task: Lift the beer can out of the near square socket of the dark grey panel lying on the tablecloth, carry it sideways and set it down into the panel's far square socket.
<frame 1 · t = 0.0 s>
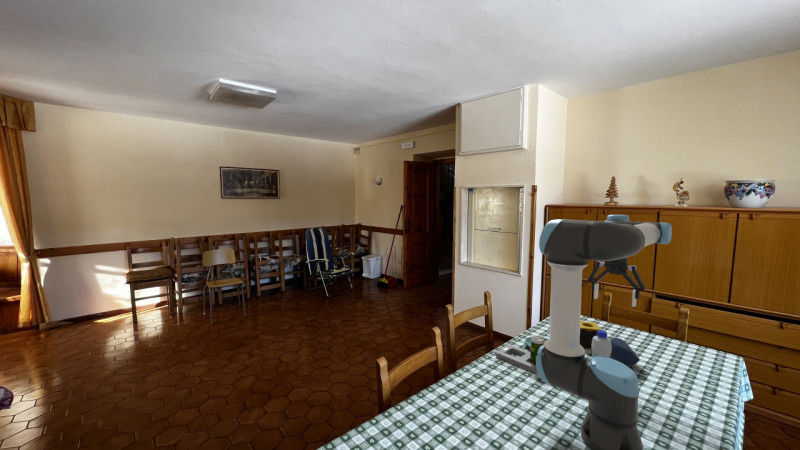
hand: (614, 302, 132), 28 cm above the table, fingers open, 13 cm apart
socket panel: (525, 361, 139), on the table
decorative stone: (621, 364, 136), on the table
beer can: (536, 366, 135), resting in socket panel
saucer: (541, 348, 152), on the table
bottle: (600, 380, 124), on the table
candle: (586, 344, 155), on the table
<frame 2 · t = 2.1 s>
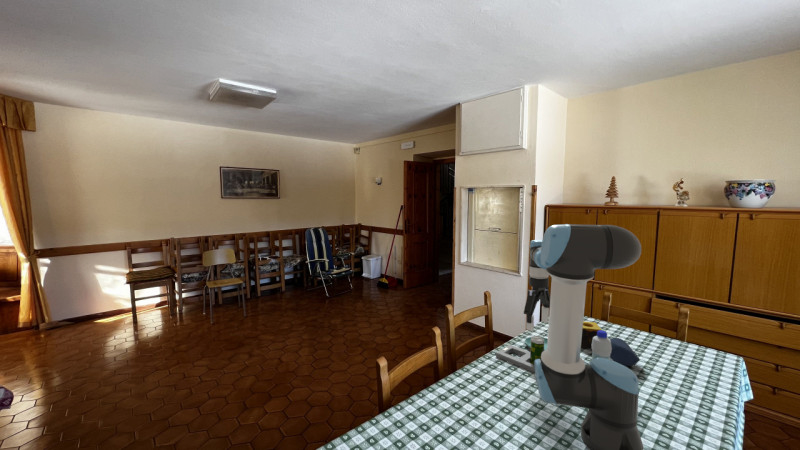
hand: (537, 326, 134), 17 cm above the table, fingers open, 13 cm apart
nothing on the table moved.
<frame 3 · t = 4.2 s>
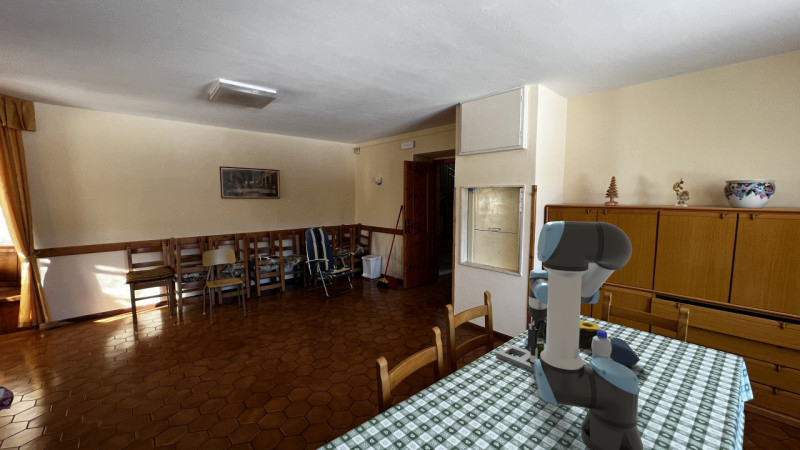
hand: (537, 359, 135), 3 cm above the table, fingers closed on beer can, 5 cm apart
beer can: (536, 366, 135), resting in socket panel, touching gripper
everything else where it was.
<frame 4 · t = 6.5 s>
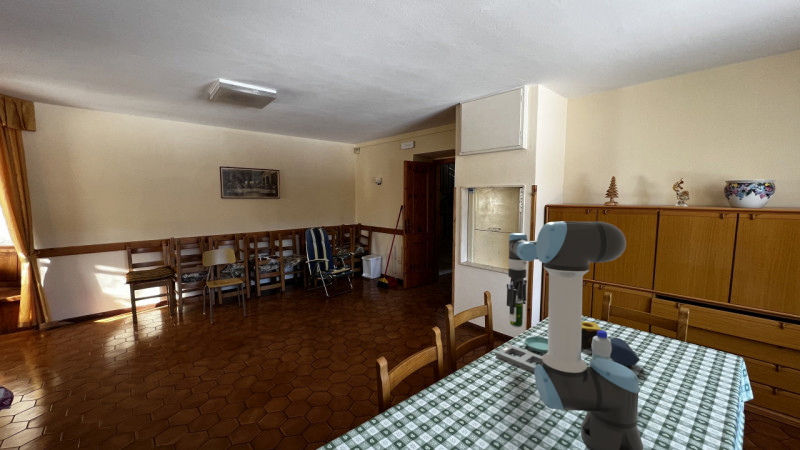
hand: (516, 319, 141), 18 cm above the table, fingers closed on beer can, 5 cm apart
beer can: (516, 325, 142), point 15 cm above the table, touching gripper
everything else where it was.
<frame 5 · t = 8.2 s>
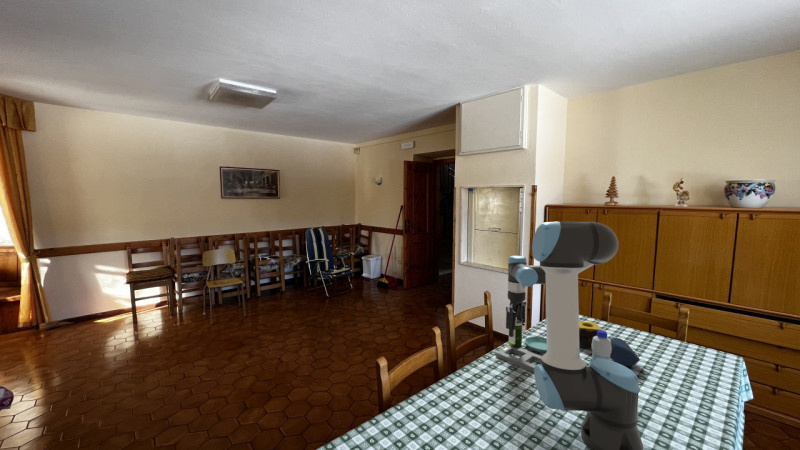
hand: (515, 341, 142), 8 cm above the table, fingers closed on beer can, 5 cm apart
beer can: (515, 347, 142), point 5 cm above the table, touching gripper
everything else where it was.
when the fingers open (4 cm above the table, at t = 9.2 s): beer can drops 1 cm, resting in socket panel.
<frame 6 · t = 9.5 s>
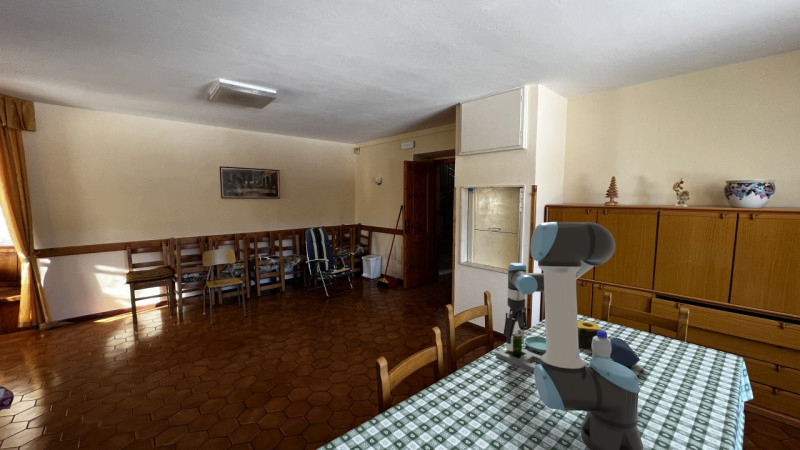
hand: (515, 346, 142), 5 cm above the table, fingers open, 9 cm apart
beer can: (515, 357, 143), resting in socket panel
everything else where it was.
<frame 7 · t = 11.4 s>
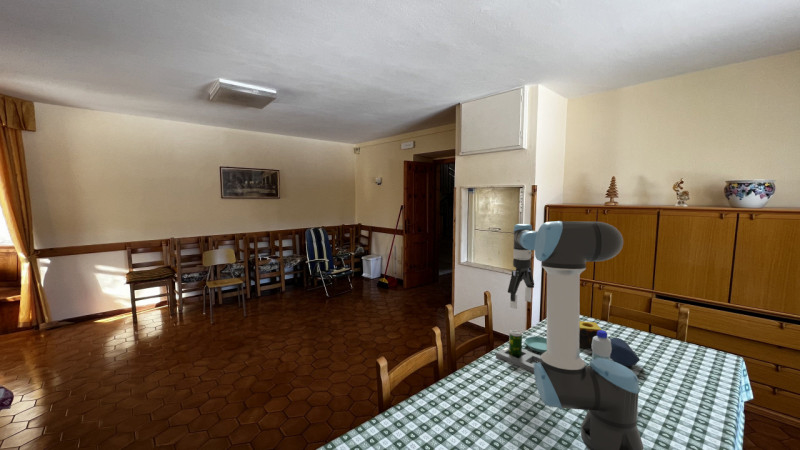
hand: (521, 304, 144), 23 cm above the table, fingers open, 13 cm apart
nothing on the table moved.
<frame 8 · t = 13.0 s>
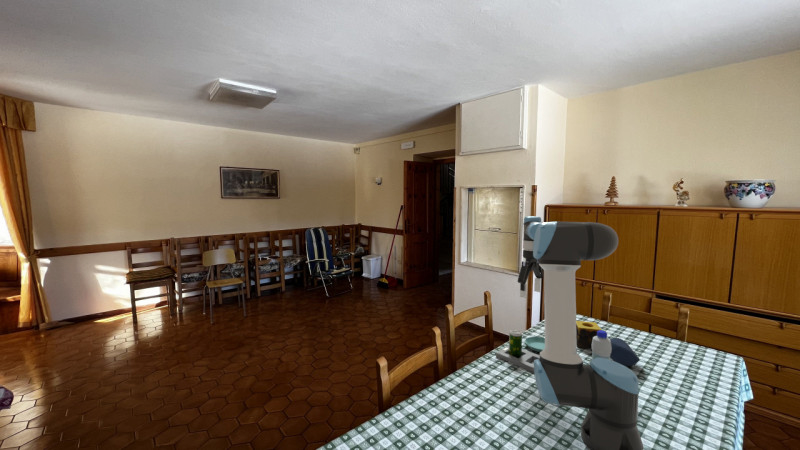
hand: (530, 294, 148), 27 cm above the table, fingers open, 13 cm apart
nothing on the table moved.
at the end: beer can 0.1 cm from the target spot on the socket panel, point 0.0 cm above the socket panel's base; beer can tilted 0°; the gripper is holding nothing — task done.
